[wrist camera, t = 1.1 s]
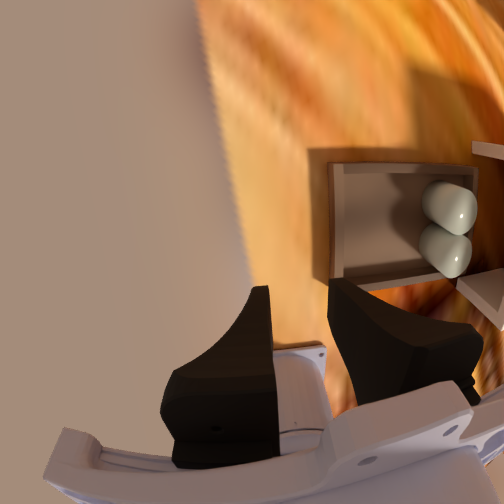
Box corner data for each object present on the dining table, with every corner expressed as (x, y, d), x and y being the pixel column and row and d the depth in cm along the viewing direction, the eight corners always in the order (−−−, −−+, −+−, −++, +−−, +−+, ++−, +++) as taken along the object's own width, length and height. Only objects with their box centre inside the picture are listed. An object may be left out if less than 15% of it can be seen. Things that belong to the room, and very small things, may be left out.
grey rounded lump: (450, 220, 20) (474, 233, 17) (419, 221, 21) (442, 236, 17) (453, 180, 19) (479, 189, 16) (422, 179, 19) (447, 188, 16)
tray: (453, 264, 23) (465, 273, 21) (326, 283, 23) (333, 296, 21) (463, 164, 19) (478, 167, 17) (324, 161, 20) (333, 164, 18)
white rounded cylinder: (445, 257, 22) (467, 274, 19) (416, 262, 22) (437, 281, 19) (450, 220, 21) (475, 234, 17) (420, 223, 21) (444, 238, 17)
